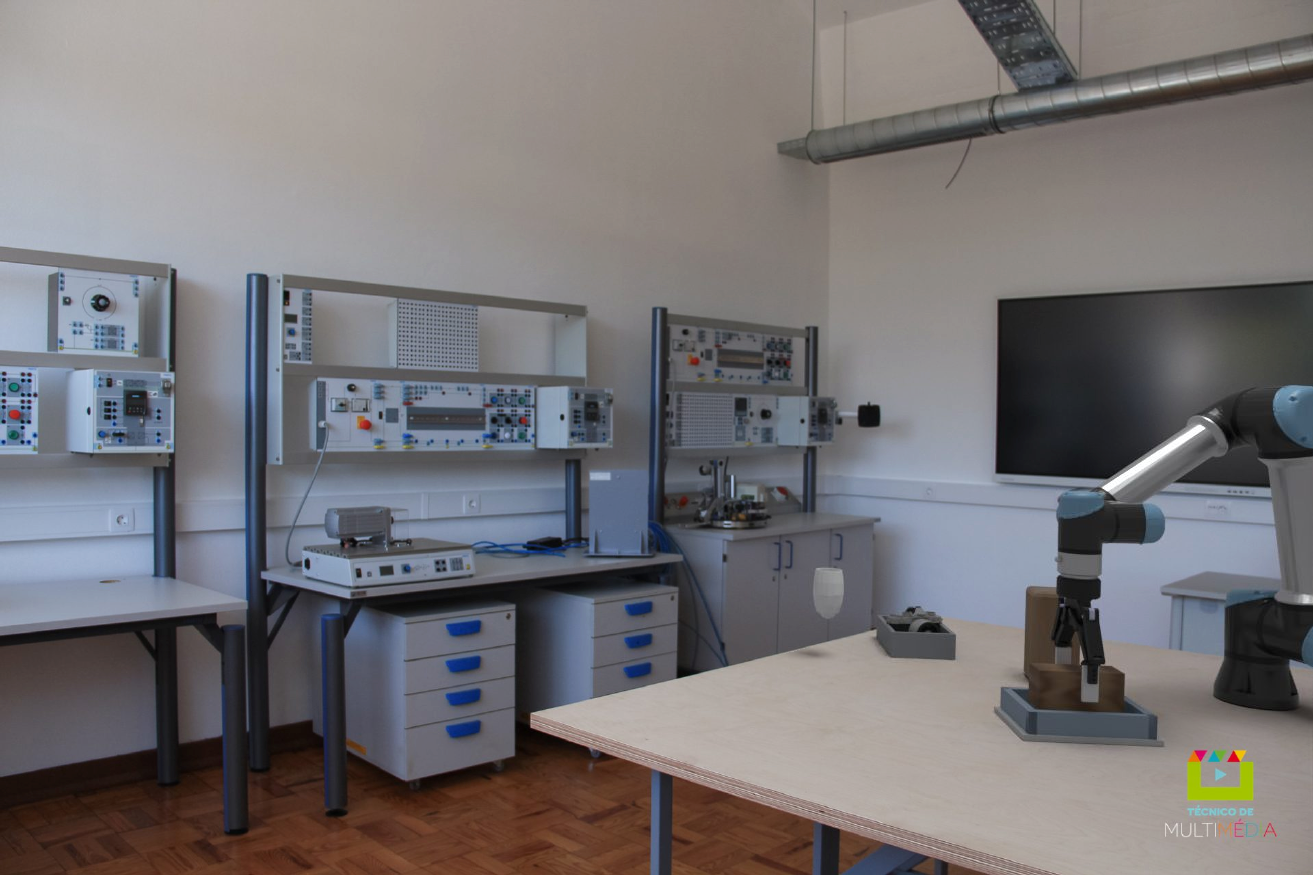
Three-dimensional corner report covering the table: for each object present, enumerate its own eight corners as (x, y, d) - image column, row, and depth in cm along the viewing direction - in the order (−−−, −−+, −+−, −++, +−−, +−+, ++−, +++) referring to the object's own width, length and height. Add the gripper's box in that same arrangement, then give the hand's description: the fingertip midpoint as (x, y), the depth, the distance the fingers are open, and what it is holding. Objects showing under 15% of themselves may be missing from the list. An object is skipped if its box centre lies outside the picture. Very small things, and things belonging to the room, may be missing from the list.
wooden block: (1080, 688, 210) (1082, 594, 210) (1030, 684, 212) (1033, 591, 212) (1070, 676, 220) (1072, 587, 220) (1022, 673, 222) (1025, 584, 222)
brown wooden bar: (1038, 709, 178) (1039, 670, 178) (1028, 700, 184) (1029, 662, 184) (1123, 712, 177) (1124, 673, 177) (1110, 703, 183) (1111, 665, 183)
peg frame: (1121, 716, 189) (1122, 690, 189) (1164, 746, 171) (1164, 717, 171) (994, 711, 191) (994, 685, 191) (1023, 740, 173) (1023, 711, 173)
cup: (846, 656, 235) (849, 569, 235) (835, 661, 229) (837, 572, 228) (818, 651, 239) (820, 566, 238) (806, 657, 232) (808, 569, 232)
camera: (897, 652, 239) (898, 611, 239) (879, 644, 247) (880, 604, 247) (953, 650, 243) (955, 609, 243) (934, 642, 252) (935, 603, 252)
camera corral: (934, 640, 256) (935, 617, 256) (955, 659, 234) (956, 634, 234) (876, 637, 257) (876, 614, 257) (891, 657, 235) (891, 632, 235)
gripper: (1035, 565, 193) (1032, 673, 193) (1083, 585, 168) (1079, 709, 169) (1075, 566, 193) (1071, 675, 193) (1128, 587, 168) (1124, 711, 168)
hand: (1075, 691), depth 181 cm, fingers open, 13 cm apart
